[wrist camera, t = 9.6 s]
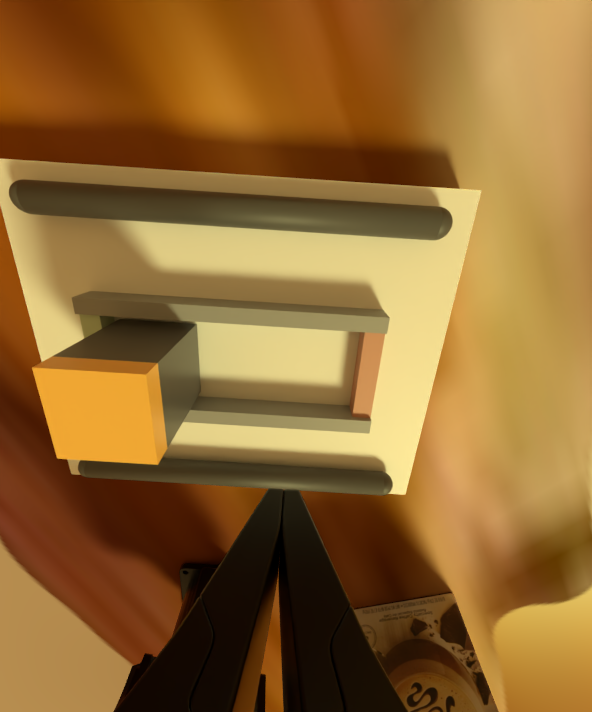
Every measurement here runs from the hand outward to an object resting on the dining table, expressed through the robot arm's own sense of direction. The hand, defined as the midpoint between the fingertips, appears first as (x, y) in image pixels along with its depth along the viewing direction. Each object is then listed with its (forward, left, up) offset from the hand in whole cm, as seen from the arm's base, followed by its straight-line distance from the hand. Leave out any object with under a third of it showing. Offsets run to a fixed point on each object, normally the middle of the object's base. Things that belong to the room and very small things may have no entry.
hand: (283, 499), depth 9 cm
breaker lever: (0, +7, -9) cm, 12 cm away
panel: (0, +3, -12) cm, 12 cm away
